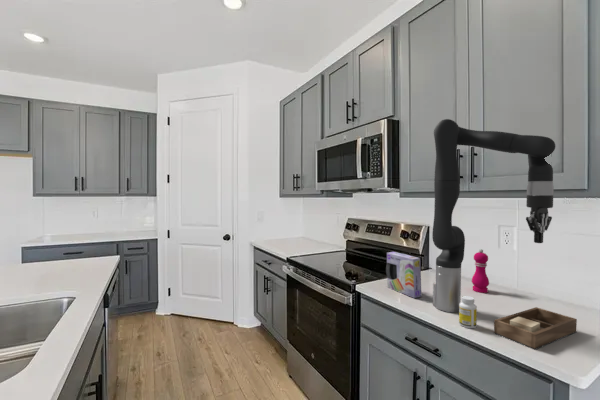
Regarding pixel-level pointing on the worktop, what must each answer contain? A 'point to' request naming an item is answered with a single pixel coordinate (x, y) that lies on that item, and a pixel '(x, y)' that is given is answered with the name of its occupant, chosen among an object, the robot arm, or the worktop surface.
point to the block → (525, 324)
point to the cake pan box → (404, 274)
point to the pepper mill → (480, 273)
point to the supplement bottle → (467, 312)
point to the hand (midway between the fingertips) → (538, 242)
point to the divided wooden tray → (550, 331)
